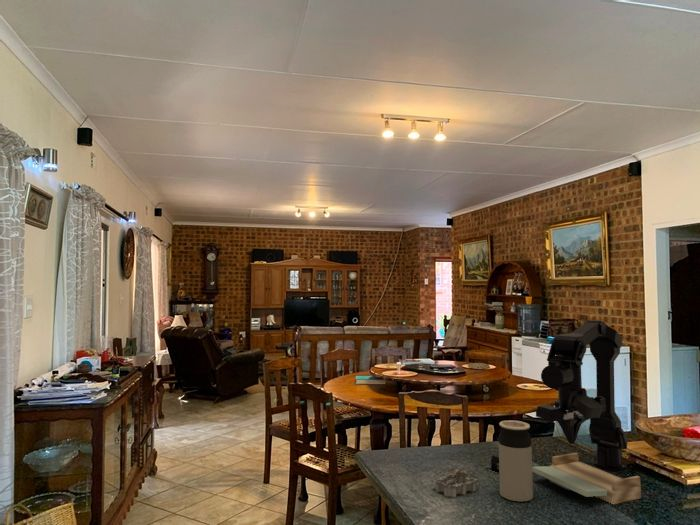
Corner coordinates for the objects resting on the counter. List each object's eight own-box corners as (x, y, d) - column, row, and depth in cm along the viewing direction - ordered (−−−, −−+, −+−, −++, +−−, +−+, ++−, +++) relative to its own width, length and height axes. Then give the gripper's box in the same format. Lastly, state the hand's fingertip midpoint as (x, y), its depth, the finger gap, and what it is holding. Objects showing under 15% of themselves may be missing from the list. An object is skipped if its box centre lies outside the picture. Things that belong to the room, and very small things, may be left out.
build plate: (526, 474, 139) (525, 458, 140) (513, 481, 134) (513, 464, 135) (487, 463, 148) (487, 448, 149) (474, 469, 143) (474, 453, 144)
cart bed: (576, 470, 140) (576, 452, 141) (641, 498, 122) (640, 476, 122) (550, 476, 137) (549, 457, 137) (612, 504, 118) (611, 482, 118)
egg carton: (462, 482, 133) (462, 467, 134) (481, 492, 127) (481, 475, 127) (430, 489, 128) (430, 473, 129) (448, 500, 122) (448, 483, 122)
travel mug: (529, 505, 118) (527, 430, 119) (496, 498, 122) (494, 425, 123) (535, 493, 125) (533, 422, 126) (504, 487, 129) (502, 418, 130)
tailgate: (551, 466, 136) (532, 466, 133) (607, 490, 119) (586, 491, 117) (551, 472, 136) (531, 473, 133) (607, 498, 119) (585, 499, 116)
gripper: (566, 392, 117) (569, 458, 116) (622, 386, 124) (624, 448, 123) (533, 384, 128) (535, 444, 127) (586, 379, 135) (588, 436, 134)
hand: (571, 443), depth 127 cm, fingers closed
